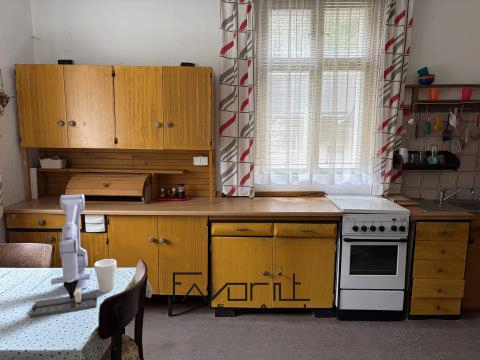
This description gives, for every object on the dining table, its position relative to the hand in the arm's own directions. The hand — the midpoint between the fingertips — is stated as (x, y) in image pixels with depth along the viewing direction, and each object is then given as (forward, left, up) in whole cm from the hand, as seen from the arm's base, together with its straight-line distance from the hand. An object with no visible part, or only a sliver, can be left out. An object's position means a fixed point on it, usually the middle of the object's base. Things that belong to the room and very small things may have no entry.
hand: (72, 297), depth 142 cm
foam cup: (-10, +14, -3) cm, 17 cm away
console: (0, -2, -3) cm, 4 cm away
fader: (0, +2, -1) cm, 3 cm away
